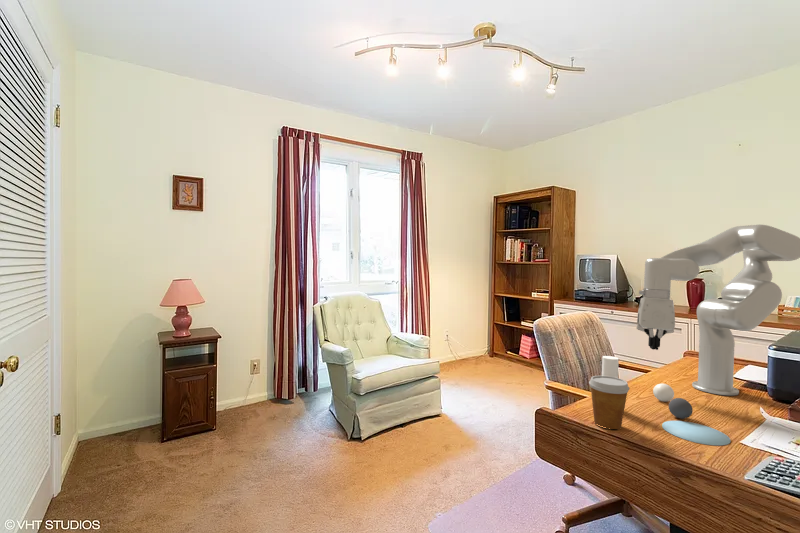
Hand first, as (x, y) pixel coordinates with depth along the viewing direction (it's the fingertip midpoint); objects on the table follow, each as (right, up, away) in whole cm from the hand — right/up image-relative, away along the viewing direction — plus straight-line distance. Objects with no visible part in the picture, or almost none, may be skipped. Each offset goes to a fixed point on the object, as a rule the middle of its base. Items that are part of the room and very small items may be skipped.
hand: (653, 348), depth 132 cm
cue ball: (-3, -12, -9) cm, 15 cm away
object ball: (-7, -12, -22) cm, 26 cm away
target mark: (-10, -15, -32) cm, 36 cm away
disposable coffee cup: (-31, -15, -28) cm, 44 cm away
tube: (-23, -15, -15) cm, 32 cm away
